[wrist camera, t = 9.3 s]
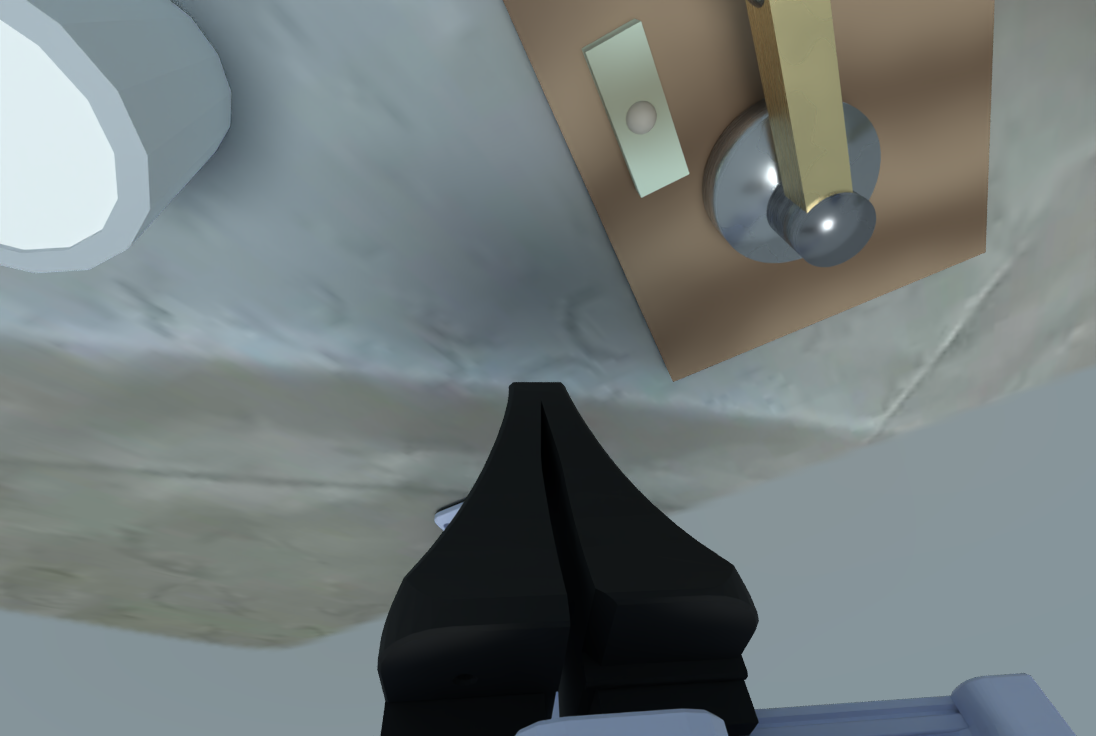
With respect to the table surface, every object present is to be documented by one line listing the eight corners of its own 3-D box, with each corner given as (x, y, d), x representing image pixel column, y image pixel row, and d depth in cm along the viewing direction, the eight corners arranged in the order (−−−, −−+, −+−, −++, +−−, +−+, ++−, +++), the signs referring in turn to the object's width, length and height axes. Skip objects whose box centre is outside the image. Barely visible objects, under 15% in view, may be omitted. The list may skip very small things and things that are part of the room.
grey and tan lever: (862, 206, 21) (931, 251, 18) (723, 267, 22) (763, 321, 19) (825, -135, 15) (920, -162, 11) (634, -25, 16) (672, -21, 13)
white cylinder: (291, 158, 19) (210, 239, 14) (113, 206, 20) (-36, 304, 14) (166, -90, 15) (-25, -120, 9) (-57, -22, 15) (-364, -11, 10)
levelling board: (968, 242, 24) (1011, 267, 22) (667, 369, 26) (681, 401, 24) (976, -365, 13) (1059, -420, 11) (480, -50, 16) (480, -51, 14)
